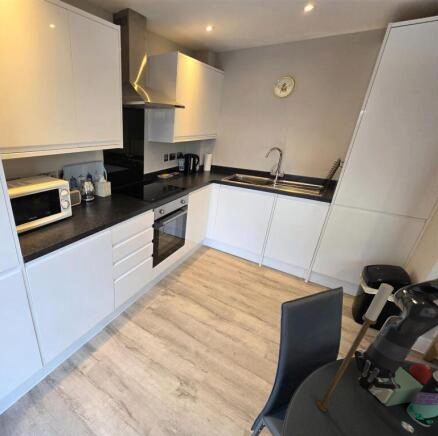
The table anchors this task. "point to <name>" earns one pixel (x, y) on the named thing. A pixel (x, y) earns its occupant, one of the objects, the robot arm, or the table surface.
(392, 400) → the green drawer box
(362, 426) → the table surface
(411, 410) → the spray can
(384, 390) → the fryer drawer
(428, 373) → the onion
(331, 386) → the candlestick
